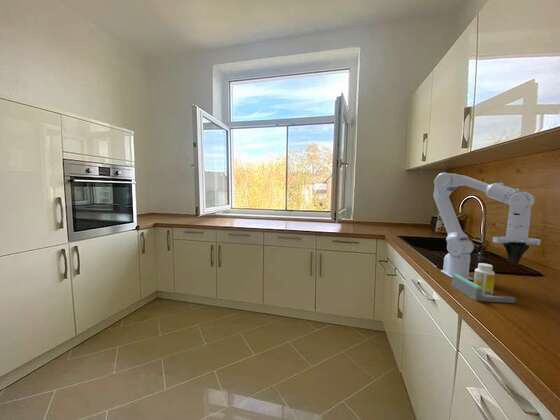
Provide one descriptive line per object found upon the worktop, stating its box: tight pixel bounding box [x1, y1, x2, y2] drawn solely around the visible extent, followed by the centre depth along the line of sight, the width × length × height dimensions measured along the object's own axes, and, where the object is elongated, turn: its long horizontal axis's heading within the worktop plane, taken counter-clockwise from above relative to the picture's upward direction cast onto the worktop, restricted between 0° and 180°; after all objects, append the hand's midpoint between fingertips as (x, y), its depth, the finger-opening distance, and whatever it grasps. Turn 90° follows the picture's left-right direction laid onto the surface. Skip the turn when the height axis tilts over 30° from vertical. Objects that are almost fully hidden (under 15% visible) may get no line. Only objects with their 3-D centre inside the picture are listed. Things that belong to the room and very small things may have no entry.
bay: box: [451, 274, 516, 304], centre depth 89 cm, size 13×12×5 cm
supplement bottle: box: [473, 262, 496, 296], centre depth 90 cm, size 6×6×10 cm
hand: (513, 263), depth 91 cm, fingers closed
